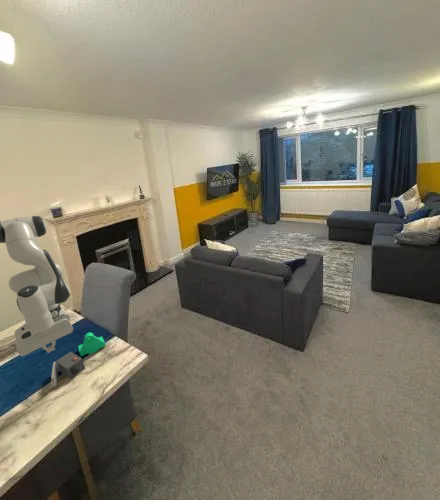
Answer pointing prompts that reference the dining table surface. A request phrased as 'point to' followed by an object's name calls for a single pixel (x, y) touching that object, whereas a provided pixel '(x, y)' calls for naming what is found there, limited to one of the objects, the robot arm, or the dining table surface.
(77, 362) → the camera housing
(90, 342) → the camera mount
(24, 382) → the dining table surface
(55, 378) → the side door
